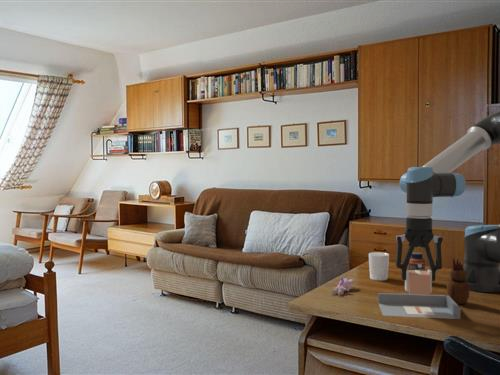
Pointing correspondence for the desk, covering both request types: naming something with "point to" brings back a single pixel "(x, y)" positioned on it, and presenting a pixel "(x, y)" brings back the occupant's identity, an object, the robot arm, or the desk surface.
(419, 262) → the supplement bottle
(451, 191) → the robot arm
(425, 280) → the cube
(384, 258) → the white cup
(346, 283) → the rabbit figure
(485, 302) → the desk surface
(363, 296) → the desk surface
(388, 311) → the tray
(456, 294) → the wooden figurine
